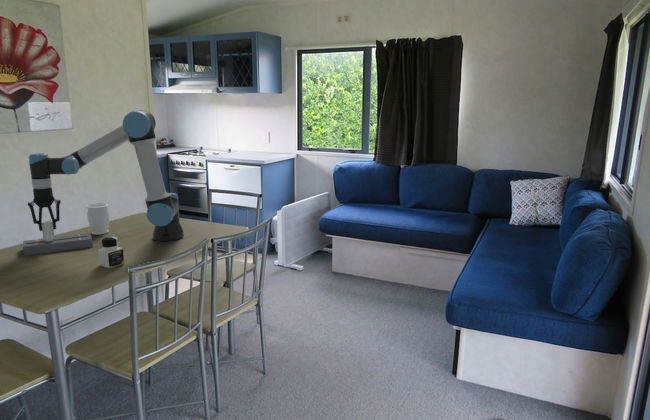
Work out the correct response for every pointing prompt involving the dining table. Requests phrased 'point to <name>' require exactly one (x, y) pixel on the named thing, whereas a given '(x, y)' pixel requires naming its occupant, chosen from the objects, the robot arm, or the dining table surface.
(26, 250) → the slider console
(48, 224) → the fader tab
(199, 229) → the dining table surface
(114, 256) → the medicine bottle
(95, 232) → the jar
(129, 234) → the dining table surface
